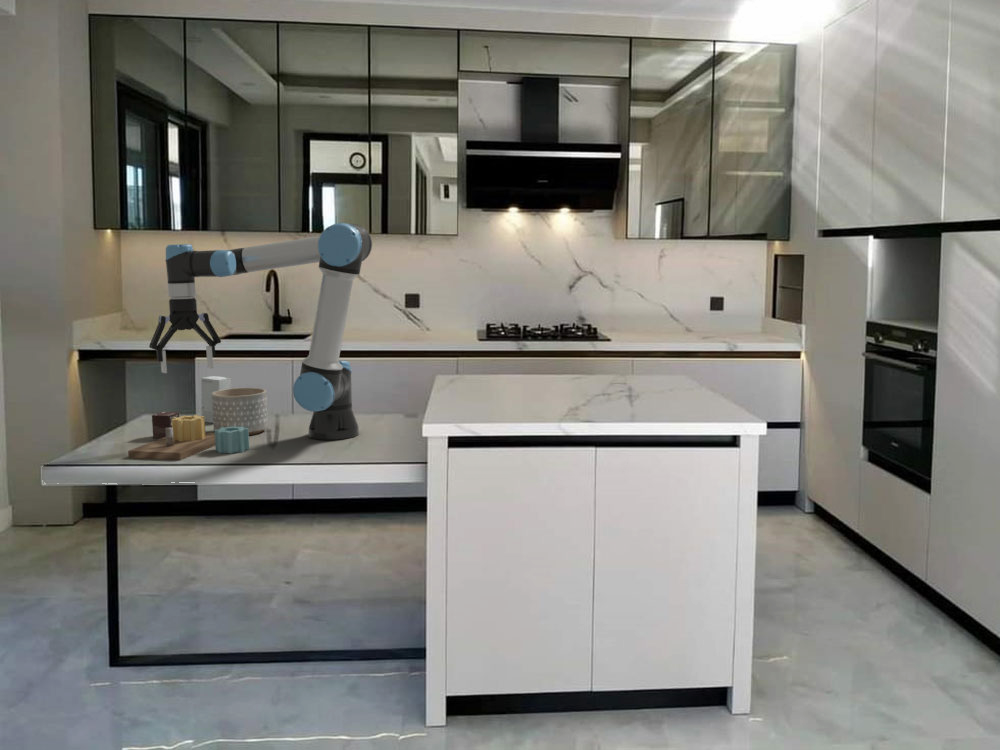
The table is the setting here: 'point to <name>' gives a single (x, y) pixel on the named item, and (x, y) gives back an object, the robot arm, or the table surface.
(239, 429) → the gear
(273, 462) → the table surface
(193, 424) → the gear out
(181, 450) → the gear board
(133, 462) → the table surface
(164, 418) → the box
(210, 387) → the skincare box
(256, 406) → the planter
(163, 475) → the table surface
